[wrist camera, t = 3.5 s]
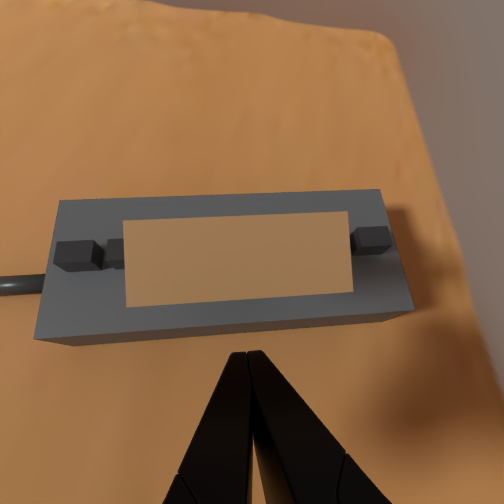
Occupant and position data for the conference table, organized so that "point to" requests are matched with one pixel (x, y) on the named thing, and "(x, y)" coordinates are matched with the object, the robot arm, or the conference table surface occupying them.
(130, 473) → the conference table surface
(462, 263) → the conference table surface
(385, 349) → the conference table surface
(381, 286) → the breaker box
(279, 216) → the lever
